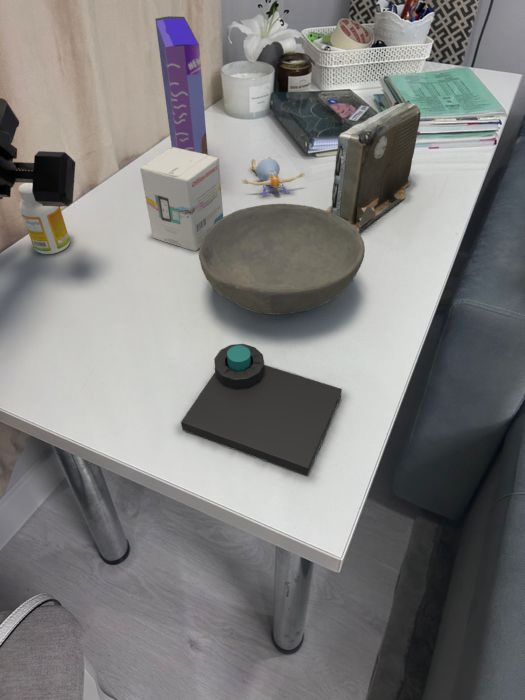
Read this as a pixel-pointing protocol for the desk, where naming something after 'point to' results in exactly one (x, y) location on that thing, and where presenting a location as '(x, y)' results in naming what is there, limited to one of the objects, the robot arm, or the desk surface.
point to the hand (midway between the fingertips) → (32, 196)
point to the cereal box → (182, 83)
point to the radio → (374, 164)
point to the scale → (264, 412)
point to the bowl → (281, 257)
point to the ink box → (182, 196)
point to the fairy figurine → (269, 175)
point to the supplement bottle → (43, 223)
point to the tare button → (239, 358)
